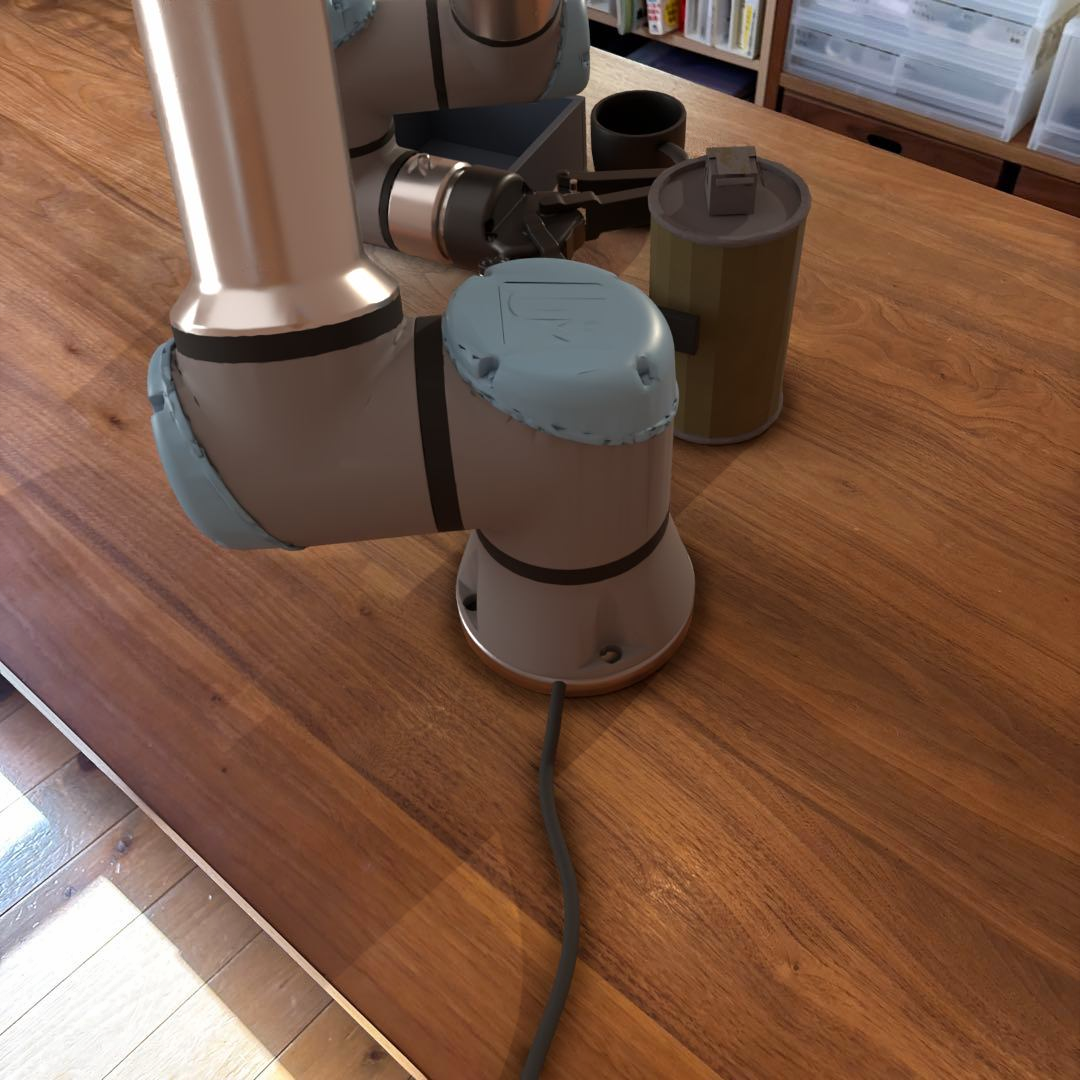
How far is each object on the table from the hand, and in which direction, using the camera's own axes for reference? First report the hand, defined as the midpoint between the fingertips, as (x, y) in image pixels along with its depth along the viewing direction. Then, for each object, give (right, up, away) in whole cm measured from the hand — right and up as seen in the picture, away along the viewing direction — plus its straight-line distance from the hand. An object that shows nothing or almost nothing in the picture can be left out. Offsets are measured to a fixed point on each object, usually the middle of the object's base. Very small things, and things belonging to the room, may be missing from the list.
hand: (734, 278), depth 76 cm
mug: (-4, +11, +25) cm, 27 cm away
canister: (0, -7, +9) cm, 11 cm away
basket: (-21, +13, +28) cm, 37 cm away
